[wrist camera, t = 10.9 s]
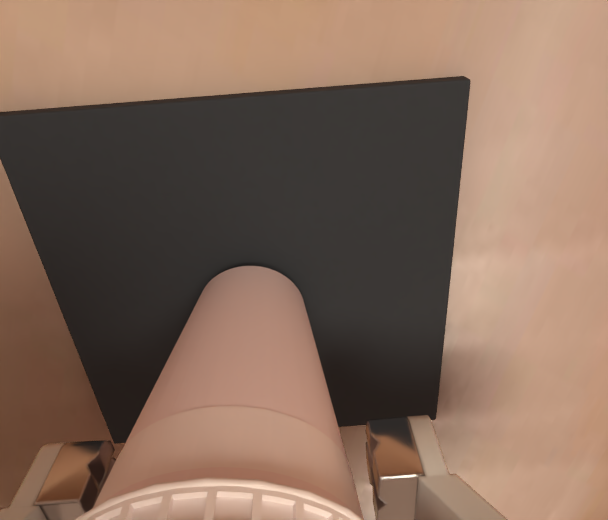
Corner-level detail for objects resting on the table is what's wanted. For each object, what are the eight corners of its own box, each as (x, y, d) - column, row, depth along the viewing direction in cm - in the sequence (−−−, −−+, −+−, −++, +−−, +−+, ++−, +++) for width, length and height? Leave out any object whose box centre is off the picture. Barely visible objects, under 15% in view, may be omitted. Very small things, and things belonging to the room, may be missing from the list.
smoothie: (282, 193, 14) (271, 1277, 2) (374, 334, 17) (585, 1147, 5) (118, 286, 16) (-410, 1250, 4) (229, 402, 19) (129, 1162, 7)
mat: (-7, 112, 14) (-18, 116, 14) (464, 75, 14) (471, 79, 14) (118, 433, 21) (114, 444, 21) (432, 409, 21) (436, 420, 21)
